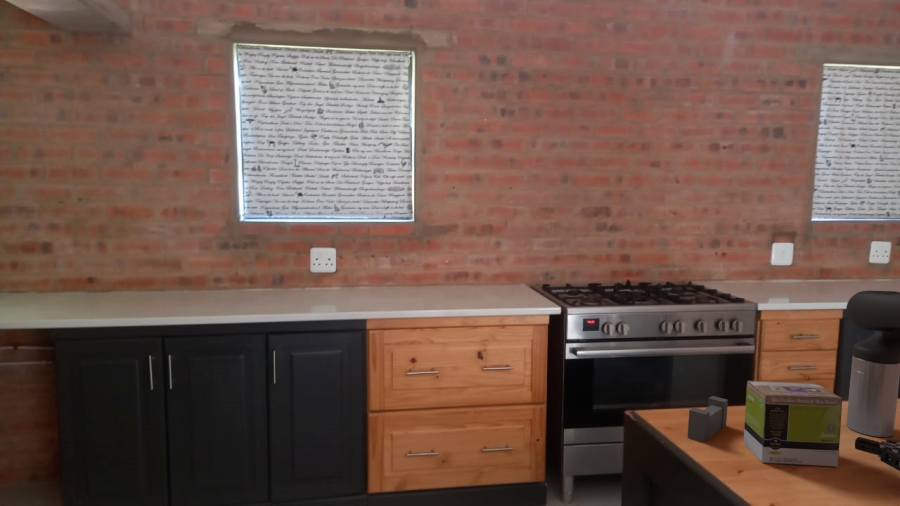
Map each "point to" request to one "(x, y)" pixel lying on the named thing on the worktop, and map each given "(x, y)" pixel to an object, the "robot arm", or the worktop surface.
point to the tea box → (792, 423)
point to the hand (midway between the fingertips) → (855, 442)
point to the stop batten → (707, 419)
